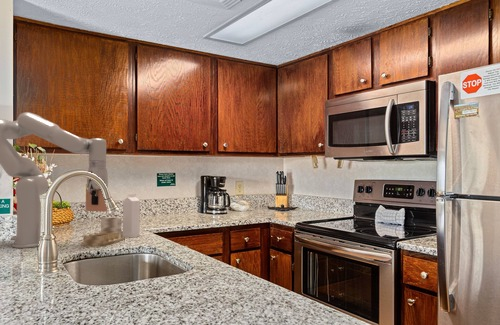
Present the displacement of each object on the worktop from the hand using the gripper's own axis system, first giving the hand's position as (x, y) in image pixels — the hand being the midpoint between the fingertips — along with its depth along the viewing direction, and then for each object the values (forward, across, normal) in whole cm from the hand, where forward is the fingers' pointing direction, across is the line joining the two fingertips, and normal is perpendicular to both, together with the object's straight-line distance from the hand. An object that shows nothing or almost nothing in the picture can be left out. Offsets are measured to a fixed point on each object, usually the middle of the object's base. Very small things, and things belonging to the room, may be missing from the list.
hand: (96, 204), depth 180 cm
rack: (+19, +6, 0) cm, 20 cm away
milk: (+19, +24, -4) cm, 31 cm away
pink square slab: (+3, 0, 0) cm, 3 cm away
